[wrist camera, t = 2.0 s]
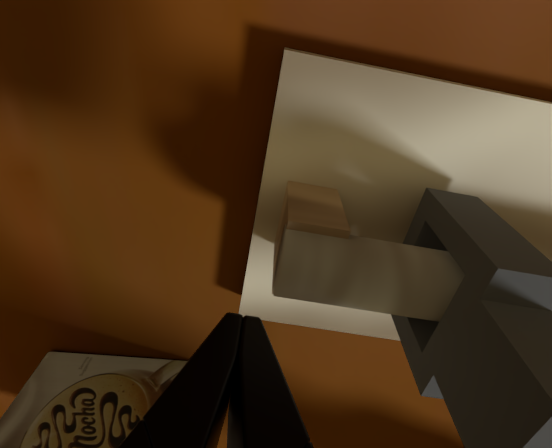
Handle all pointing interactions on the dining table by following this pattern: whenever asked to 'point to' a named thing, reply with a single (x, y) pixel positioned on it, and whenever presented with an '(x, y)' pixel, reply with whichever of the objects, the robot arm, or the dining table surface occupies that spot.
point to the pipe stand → (383, 190)
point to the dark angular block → (485, 326)
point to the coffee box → (84, 400)
